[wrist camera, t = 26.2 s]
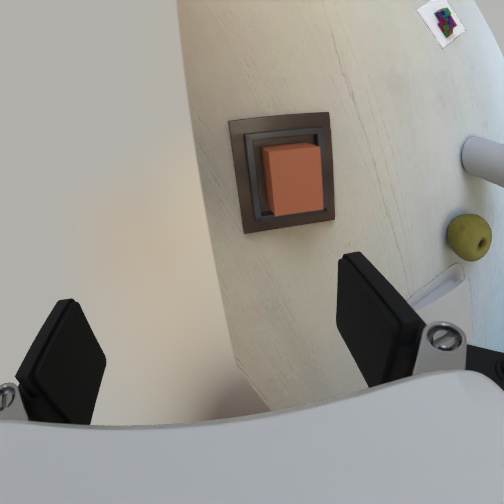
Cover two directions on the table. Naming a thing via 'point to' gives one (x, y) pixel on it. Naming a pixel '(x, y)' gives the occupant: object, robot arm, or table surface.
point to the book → (446, 300)
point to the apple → (469, 236)
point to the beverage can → (484, 159)
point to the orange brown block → (293, 178)
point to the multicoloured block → (441, 21)
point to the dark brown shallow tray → (252, 175)
